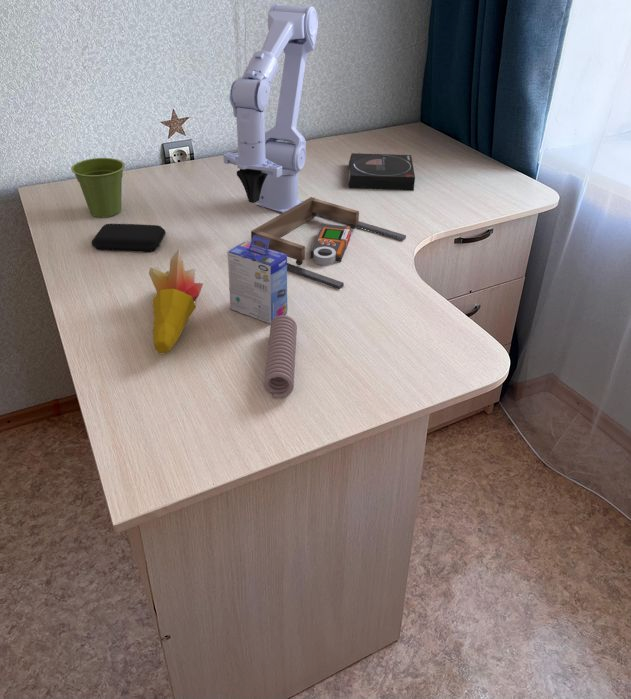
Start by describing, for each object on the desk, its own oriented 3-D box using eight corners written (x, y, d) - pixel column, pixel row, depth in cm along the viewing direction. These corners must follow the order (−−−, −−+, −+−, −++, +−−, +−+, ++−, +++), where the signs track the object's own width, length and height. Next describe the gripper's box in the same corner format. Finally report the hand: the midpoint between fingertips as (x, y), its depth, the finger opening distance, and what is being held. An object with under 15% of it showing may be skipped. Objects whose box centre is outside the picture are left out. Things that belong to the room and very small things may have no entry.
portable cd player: (348, 167, 186) (349, 153, 184) (409, 169, 186) (411, 155, 183) (347, 190, 173) (348, 175, 171) (413, 192, 172) (415, 177, 170)
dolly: (251, 250, 144) (250, 231, 141) (311, 214, 159) (311, 196, 156) (301, 267, 138) (301, 248, 135) (358, 228, 153) (359, 210, 150)
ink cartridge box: (289, 311, 124) (288, 242, 116) (272, 325, 121) (270, 254, 112) (247, 296, 129) (243, 228, 120) (229, 309, 125) (224, 239, 116)
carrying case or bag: (169, 233, 151) (105, 230, 152) (168, 220, 149) (103, 218, 150) (157, 255, 142) (90, 252, 143) (155, 242, 141) (87, 239, 141)
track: (237, 253, 143) (237, 249, 143) (311, 209, 161) (311, 206, 161) (339, 289, 131) (339, 286, 131) (405, 238, 150) (406, 235, 149)
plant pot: (138, 215, 158) (131, 169, 151) (88, 226, 153) (79, 179, 146) (122, 198, 166) (115, 153, 159) (74, 208, 161) (64, 162, 154)
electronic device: (307, 254, 138) (322, 221, 150) (307, 266, 140) (322, 232, 152) (339, 258, 137) (352, 224, 149) (339, 270, 139) (351, 236, 151)
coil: (269, 313, 116) (261, 377, 102) (295, 311, 116) (291, 375, 101) (272, 335, 119) (265, 400, 104) (298, 333, 119) (295, 398, 104)
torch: (161, 378, 114) (174, 287, 132) (200, 361, 112) (208, 271, 130) (131, 348, 109) (149, 257, 127) (171, 329, 106) (184, 240, 125)
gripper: (212, 137, 139) (216, 199, 147) (267, 152, 132) (268, 215, 140) (234, 129, 144) (237, 189, 152) (288, 142, 137) (288, 204, 145)
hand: (253, 201), depth 146 cm, fingers closed
